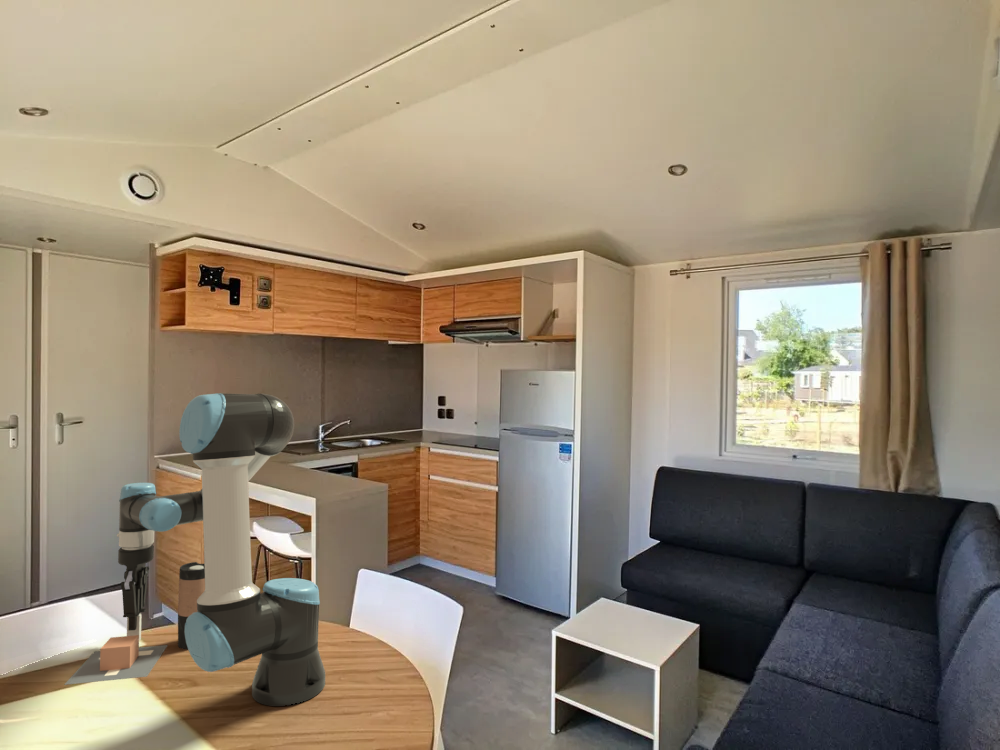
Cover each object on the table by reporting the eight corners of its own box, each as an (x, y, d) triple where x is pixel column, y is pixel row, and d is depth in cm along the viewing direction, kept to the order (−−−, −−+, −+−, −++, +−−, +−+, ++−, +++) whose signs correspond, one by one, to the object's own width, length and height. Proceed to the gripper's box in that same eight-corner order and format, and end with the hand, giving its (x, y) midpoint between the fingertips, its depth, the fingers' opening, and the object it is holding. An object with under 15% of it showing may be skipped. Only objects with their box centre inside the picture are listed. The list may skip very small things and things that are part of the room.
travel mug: (185, 655, 142) (187, 572, 142) (171, 646, 146) (173, 566, 147) (216, 644, 148) (218, 565, 148) (202, 635, 152) (204, 559, 153)
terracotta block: (129, 668, 133) (130, 646, 134) (99, 670, 132) (100, 648, 132) (138, 656, 139) (139, 635, 139) (110, 658, 138) (110, 637, 138)
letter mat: (146, 679, 130) (147, 676, 130) (63, 687, 126) (64, 684, 126) (167, 647, 145) (167, 644, 145) (94, 653, 141) (94, 651, 141)
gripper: (128, 539, 150) (126, 631, 150) (109, 554, 138) (106, 654, 137) (161, 538, 152) (158, 628, 152) (144, 552, 140) (141, 651, 139)
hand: (133, 641), depth 145 cm, fingers closed
